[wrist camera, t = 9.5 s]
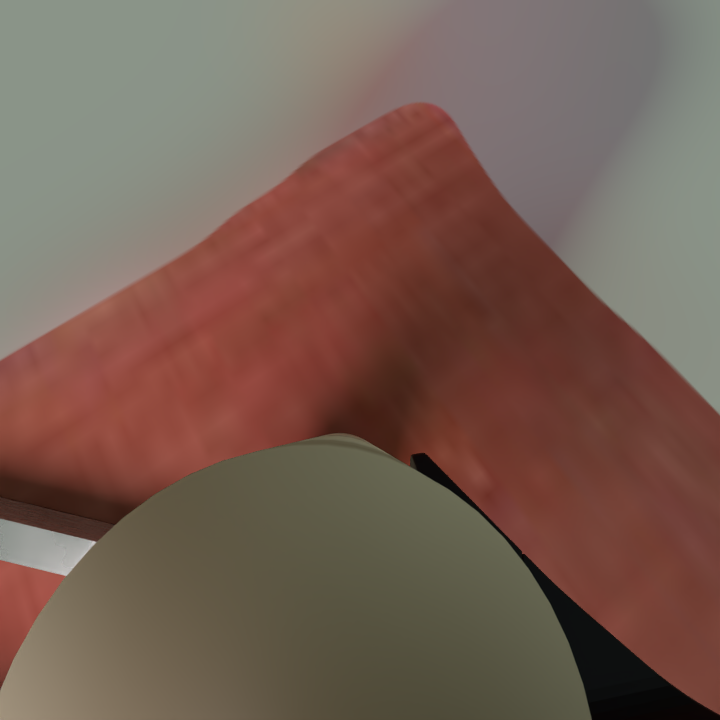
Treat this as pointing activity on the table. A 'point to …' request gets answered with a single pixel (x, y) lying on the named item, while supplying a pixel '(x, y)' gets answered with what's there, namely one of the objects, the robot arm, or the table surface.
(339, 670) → the pin
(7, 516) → the grey slotted plate
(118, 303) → the table surface
